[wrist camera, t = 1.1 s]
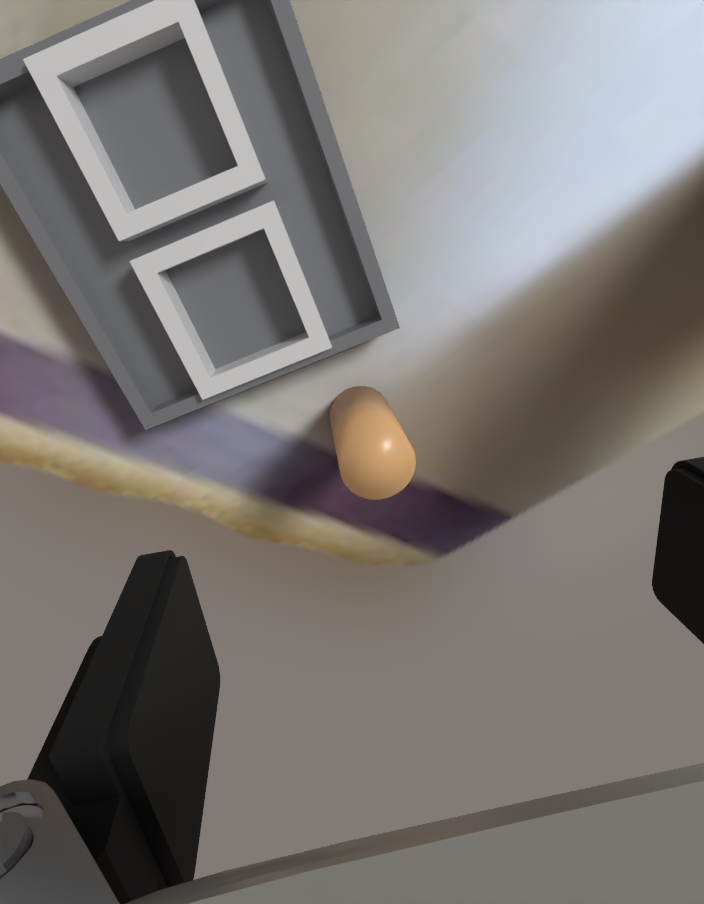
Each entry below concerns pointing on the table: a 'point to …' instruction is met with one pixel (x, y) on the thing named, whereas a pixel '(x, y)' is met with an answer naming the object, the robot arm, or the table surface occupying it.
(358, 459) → the rounded peg
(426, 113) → the table surface
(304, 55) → the tray
